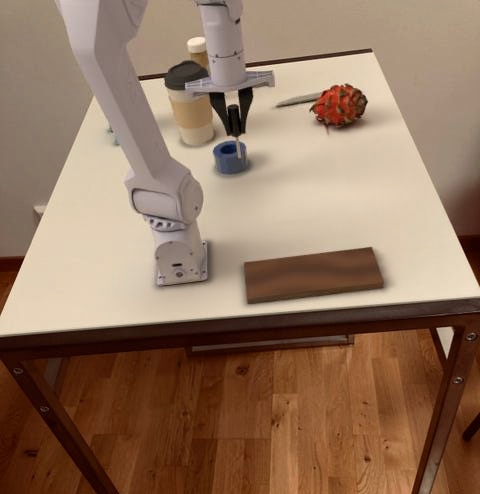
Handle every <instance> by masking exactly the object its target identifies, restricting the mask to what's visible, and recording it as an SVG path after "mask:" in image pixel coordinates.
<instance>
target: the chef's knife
mask: <svg viewBox="0 0 480 494" xmlns="http://www.w3.org/2000/svg"><path fill="white" fill-rule="evenodd" d="M355 88H356V87H353V89H355ZM322 93H323V91H320V92H315V93H310V94H306V95H300V96H297V97H293V98H290V99H287V100H285V101H281V102H279V103H278V104H275V107H280V106H287V105H292V104H298V103H303V102H308V101H314V100H318V99H319V98H320V97H321V95H322Z"/></svg>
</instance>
